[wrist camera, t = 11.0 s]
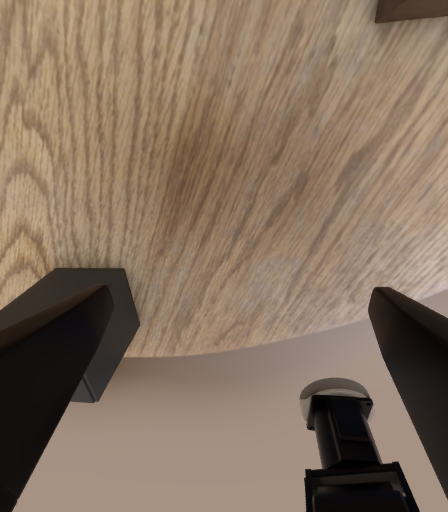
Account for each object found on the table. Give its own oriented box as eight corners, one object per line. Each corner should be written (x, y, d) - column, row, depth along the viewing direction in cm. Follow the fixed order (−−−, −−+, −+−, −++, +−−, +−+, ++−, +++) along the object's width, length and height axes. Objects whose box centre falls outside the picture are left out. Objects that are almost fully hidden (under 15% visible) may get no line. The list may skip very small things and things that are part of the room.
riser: (140, 325, 27) (97, 405, 20) (78, 323, 28) (15, 398, 20) (124, 268, 24) (64, 338, 16) (54, 267, 25) (-32, 334, 17)
